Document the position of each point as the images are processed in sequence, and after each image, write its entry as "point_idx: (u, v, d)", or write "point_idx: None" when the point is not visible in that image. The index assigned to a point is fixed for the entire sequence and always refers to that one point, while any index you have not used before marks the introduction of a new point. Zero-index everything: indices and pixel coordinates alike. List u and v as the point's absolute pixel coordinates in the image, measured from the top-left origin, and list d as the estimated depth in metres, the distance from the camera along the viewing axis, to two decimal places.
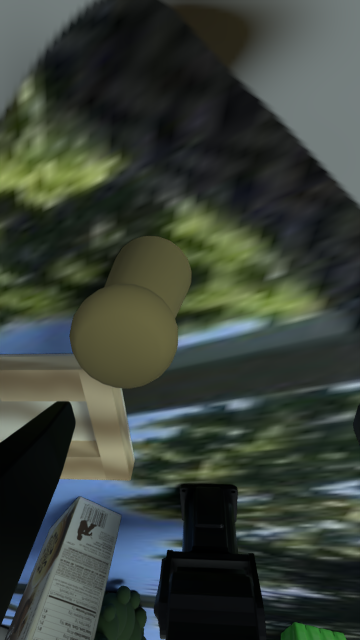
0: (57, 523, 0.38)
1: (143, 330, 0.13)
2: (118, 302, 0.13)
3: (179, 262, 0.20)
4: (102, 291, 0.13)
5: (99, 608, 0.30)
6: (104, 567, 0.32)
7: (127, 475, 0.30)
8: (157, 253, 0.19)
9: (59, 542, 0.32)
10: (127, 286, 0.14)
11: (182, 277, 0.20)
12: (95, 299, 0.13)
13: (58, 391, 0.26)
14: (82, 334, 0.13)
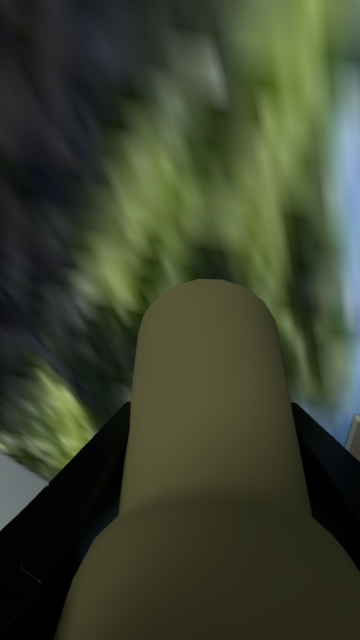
0: None
1: None
2: None
3: (164, 317, 0.10)
4: None
5: None
6: None
7: None
8: (137, 364, 0.10)
9: None
10: None
11: (184, 324, 0.09)
12: None
13: None
14: None
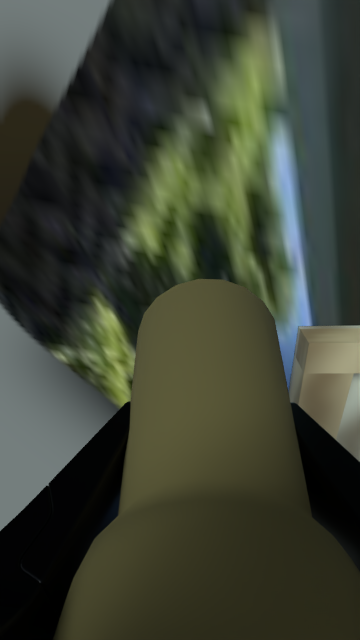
0: None
1: None
2: None
3: (164, 317, 0.10)
4: None
5: None
6: None
7: None
8: (136, 364, 0.10)
9: None
10: None
11: (184, 324, 0.09)
12: None
13: (331, 397, 0.22)
14: None
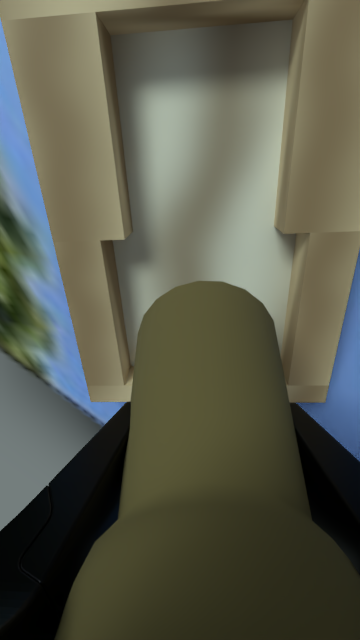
0: None
1: None
2: None
3: (163, 319, 0.10)
4: None
5: None
6: None
7: None
8: (136, 366, 0.10)
9: None
10: None
11: (183, 326, 0.09)
12: None
13: (76, 93, 0.11)
14: None
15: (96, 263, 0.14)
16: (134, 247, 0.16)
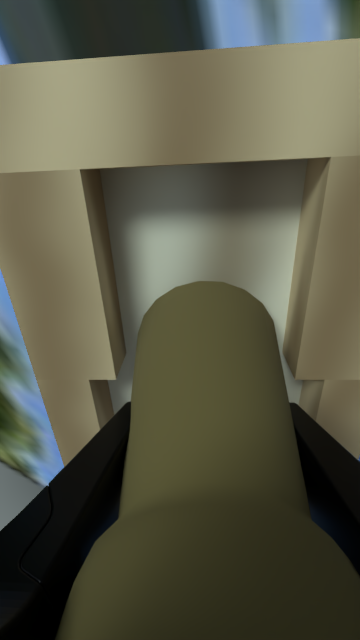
0: None
1: None
2: None
3: (163, 319, 0.10)
4: None
5: None
6: None
7: None
8: (136, 366, 0.10)
9: None
10: None
11: (183, 326, 0.09)
12: None
13: (59, 245, 0.10)
14: None
15: (85, 400, 0.13)
16: (128, 367, 0.14)
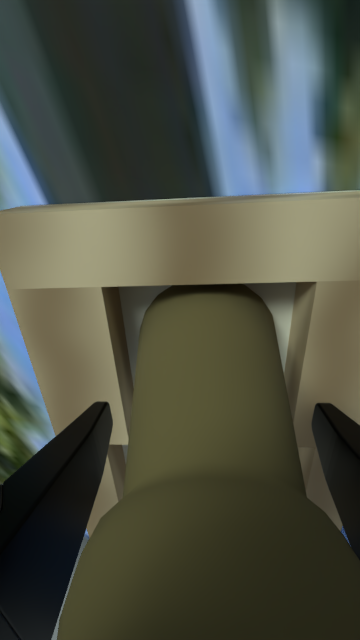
0: None
1: None
2: None
3: (164, 313, 0.11)
4: None
5: None
6: None
7: None
8: (138, 359, 0.10)
9: None
10: None
11: (184, 319, 0.10)
12: None
13: (82, 342, 0.11)
14: None
15: None
16: None
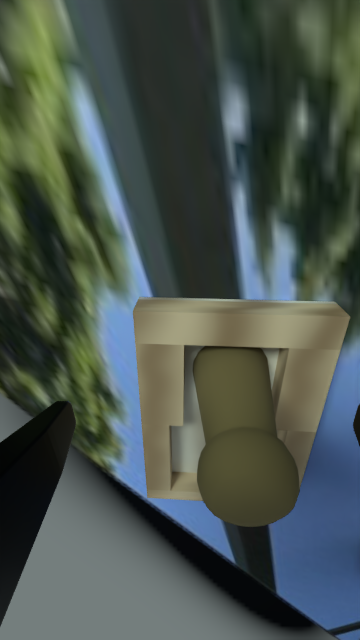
0: None
1: (228, 486, 0.14)
2: (203, 489, 0.15)
3: (213, 358, 0.21)
4: None
5: None
6: None
7: (336, 319, 0.19)
8: (200, 381, 0.21)
9: None
10: (198, 465, 0.16)
11: (225, 364, 0.20)
12: None
13: (168, 370, 0.22)
14: (227, 521, 0.15)
15: (165, 434, 0.25)
16: (183, 415, 0.26)
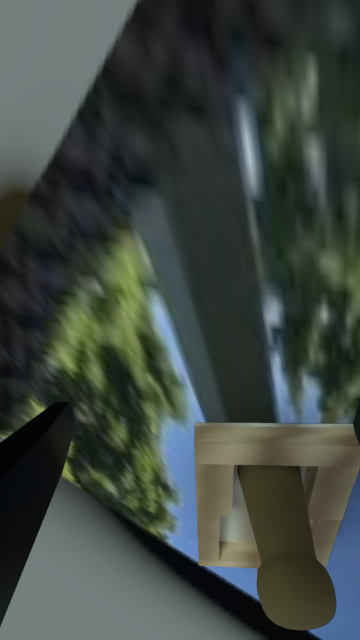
0: None
1: (285, 609, 0.19)
2: (265, 605, 0.20)
3: (257, 472, 0.27)
4: (259, 595, 0.21)
5: None
6: None
7: (356, 448, 0.24)
8: (247, 491, 0.26)
9: None
10: (258, 581, 0.21)
11: (268, 480, 0.26)
12: None
13: (220, 480, 0.27)
14: (283, 626, 0.20)
15: (216, 522, 0.30)
16: None
